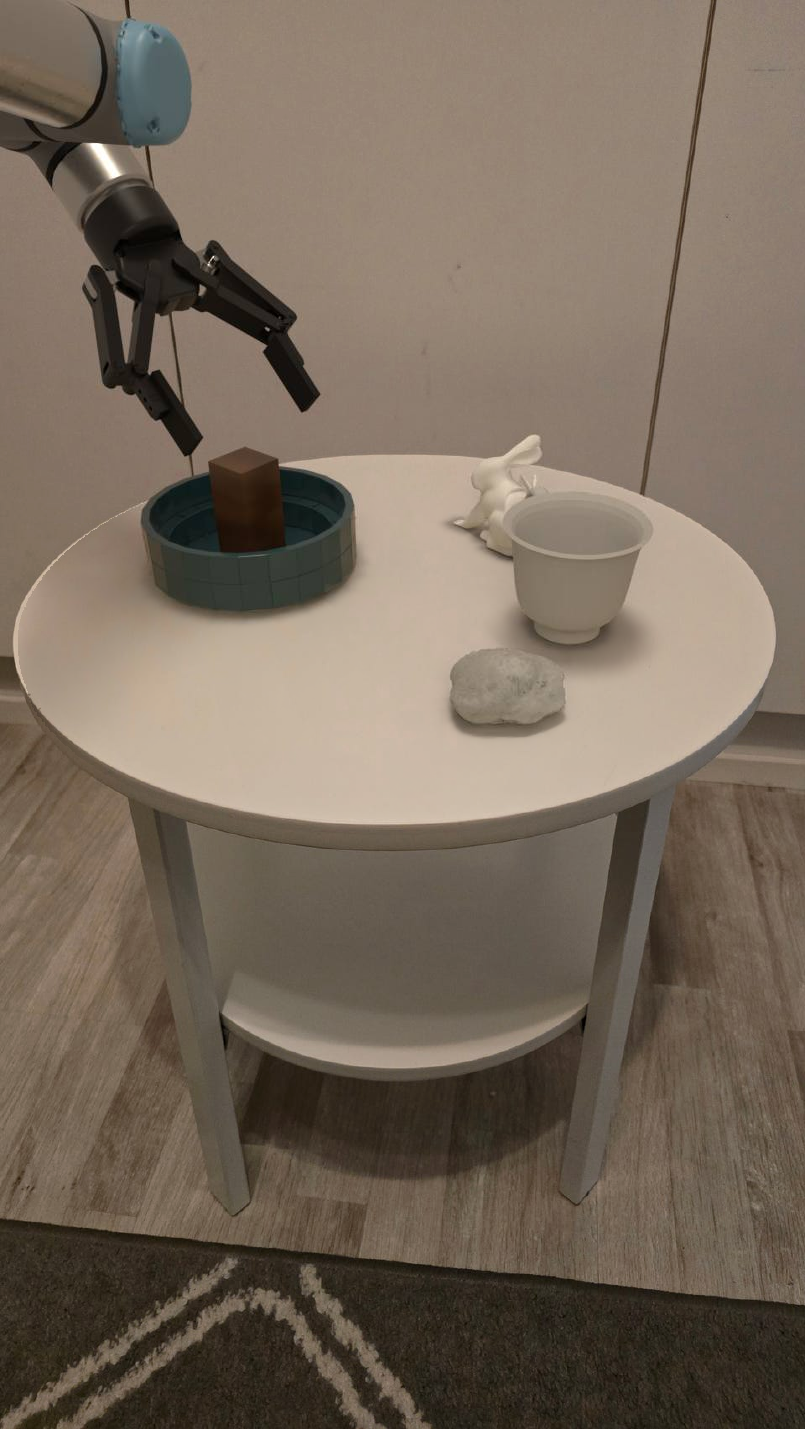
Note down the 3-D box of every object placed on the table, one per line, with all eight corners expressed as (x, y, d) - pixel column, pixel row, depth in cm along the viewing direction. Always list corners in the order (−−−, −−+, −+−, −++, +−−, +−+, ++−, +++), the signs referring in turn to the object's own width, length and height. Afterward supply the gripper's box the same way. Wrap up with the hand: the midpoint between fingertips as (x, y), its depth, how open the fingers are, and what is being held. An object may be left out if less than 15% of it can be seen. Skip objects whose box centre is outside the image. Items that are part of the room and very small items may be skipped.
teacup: (583, 570, 94) (594, 470, 88) (663, 650, 82) (682, 542, 76) (464, 590, 91) (467, 488, 85) (531, 677, 79) (540, 566, 73)
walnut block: (252, 574, 92) (241, 474, 86) (220, 560, 95) (207, 461, 89) (287, 557, 95) (278, 458, 89) (255, 543, 97) (245, 446, 91)
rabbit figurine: (451, 523, 102) (453, 432, 96) (512, 507, 105) (517, 418, 99) (515, 571, 93) (522, 475, 88) (580, 553, 96) (590, 459, 90)
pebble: (503, 666, 81) (506, 613, 78) (580, 708, 76) (587, 654, 73) (427, 708, 76) (427, 654, 73) (504, 757, 71) (508, 701, 68)
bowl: (146, 626, 86) (135, 565, 82) (155, 528, 102) (145, 473, 98) (368, 606, 88) (366, 546, 85) (344, 513, 104) (341, 459, 100)
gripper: (214, 221, 95) (334, 409, 96) (-23, 268, 80) (123, 491, 81) (246, 163, 89) (373, 364, 90) (-4, 202, 74) (153, 443, 75)
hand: (255, 425), depth 85 cm, fingers open, 13 cm apart
